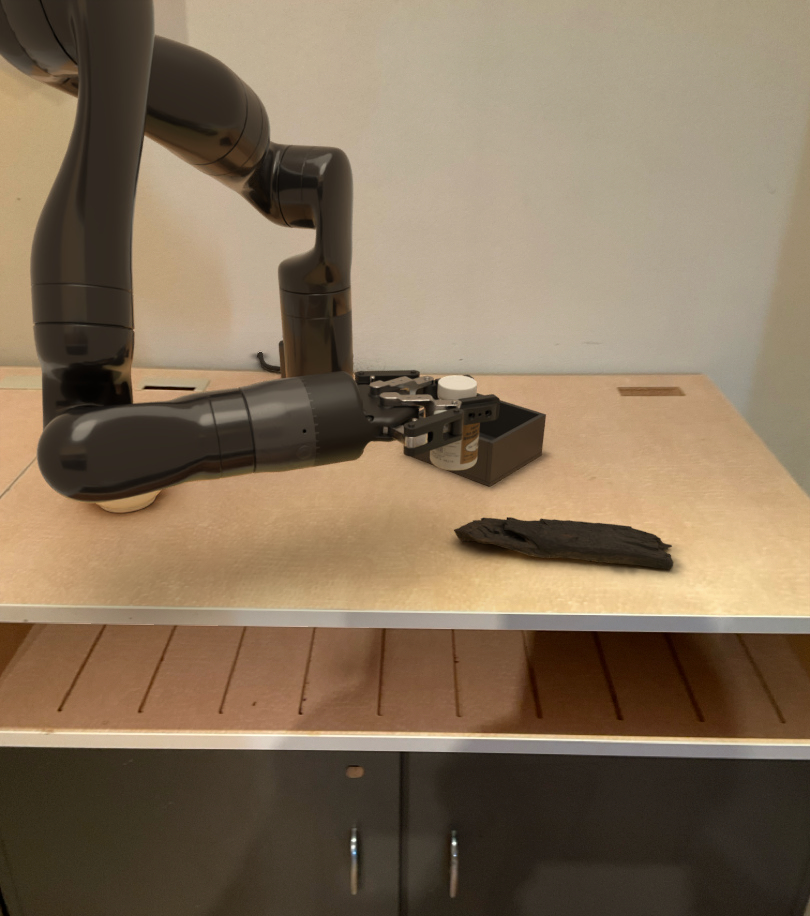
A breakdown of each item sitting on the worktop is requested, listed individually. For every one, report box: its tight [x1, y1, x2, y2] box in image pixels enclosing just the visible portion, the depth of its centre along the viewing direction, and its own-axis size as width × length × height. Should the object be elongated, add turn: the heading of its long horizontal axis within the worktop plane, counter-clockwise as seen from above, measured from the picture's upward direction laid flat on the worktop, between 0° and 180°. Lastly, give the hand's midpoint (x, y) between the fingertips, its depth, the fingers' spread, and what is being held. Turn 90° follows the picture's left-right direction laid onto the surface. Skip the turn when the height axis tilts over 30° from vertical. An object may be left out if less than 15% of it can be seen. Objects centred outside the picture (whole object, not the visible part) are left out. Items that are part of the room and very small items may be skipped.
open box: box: [411, 392, 547, 487], centre depth 97 cm, size 12×11×6 cm
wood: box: [453, 516, 675, 570], centre depth 80 cm, size 22×7×3 cm, turn 82°
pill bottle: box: [430, 374, 480, 471], centre depth 71 cm, size 4×4×8 cm
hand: (483, 396), depth 71 cm, fingers closed on pill bottle, 4 cm apart
